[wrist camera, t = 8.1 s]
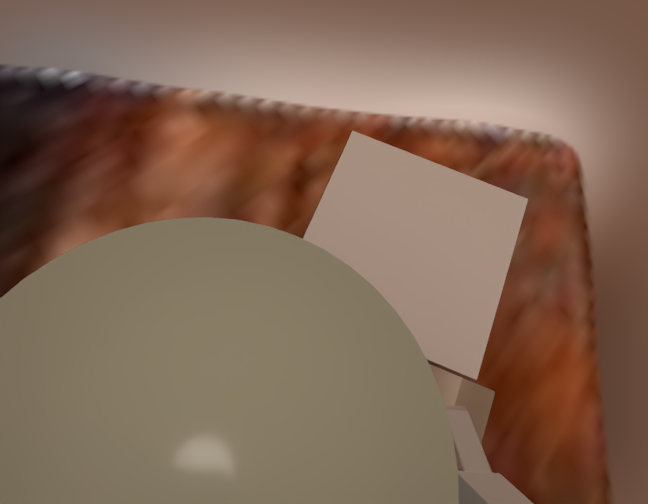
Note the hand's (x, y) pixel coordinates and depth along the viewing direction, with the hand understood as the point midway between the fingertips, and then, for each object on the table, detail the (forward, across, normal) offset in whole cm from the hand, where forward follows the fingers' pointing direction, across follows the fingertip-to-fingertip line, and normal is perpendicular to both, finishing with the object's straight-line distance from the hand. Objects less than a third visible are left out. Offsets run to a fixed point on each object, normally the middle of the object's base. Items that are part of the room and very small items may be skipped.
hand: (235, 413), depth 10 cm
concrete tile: (+19, -7, +4) cm, 21 cm away
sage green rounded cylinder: (+4, 0, +4) cm, 6 cm away
